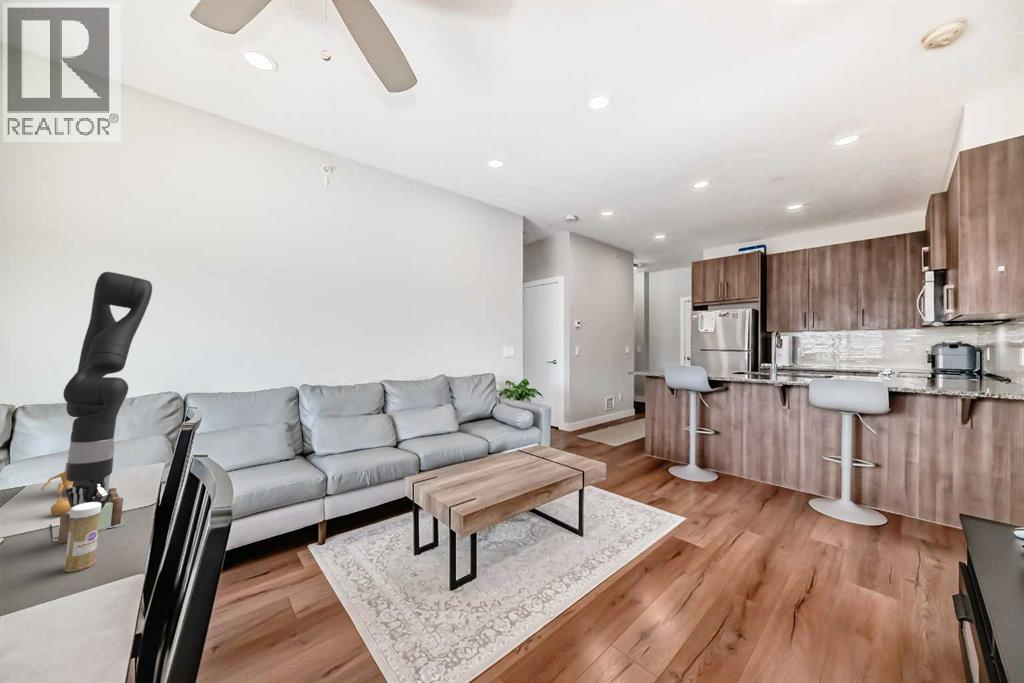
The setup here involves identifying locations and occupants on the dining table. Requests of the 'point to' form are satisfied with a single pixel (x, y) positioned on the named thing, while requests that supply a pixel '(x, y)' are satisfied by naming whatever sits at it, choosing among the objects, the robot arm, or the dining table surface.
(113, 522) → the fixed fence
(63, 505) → the figurine
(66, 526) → the swing panel
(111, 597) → the dining table surface
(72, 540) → the sprinkles bottle
